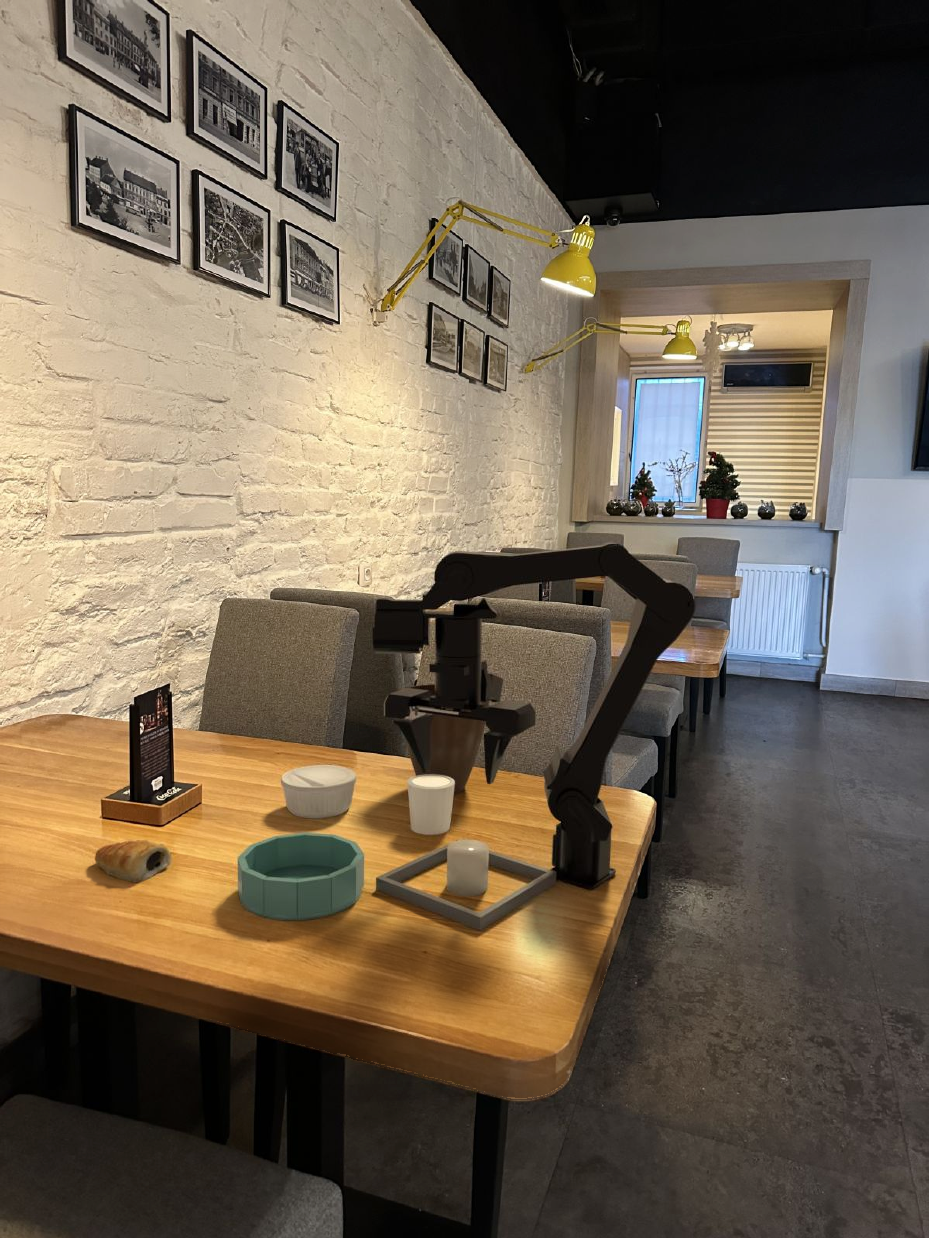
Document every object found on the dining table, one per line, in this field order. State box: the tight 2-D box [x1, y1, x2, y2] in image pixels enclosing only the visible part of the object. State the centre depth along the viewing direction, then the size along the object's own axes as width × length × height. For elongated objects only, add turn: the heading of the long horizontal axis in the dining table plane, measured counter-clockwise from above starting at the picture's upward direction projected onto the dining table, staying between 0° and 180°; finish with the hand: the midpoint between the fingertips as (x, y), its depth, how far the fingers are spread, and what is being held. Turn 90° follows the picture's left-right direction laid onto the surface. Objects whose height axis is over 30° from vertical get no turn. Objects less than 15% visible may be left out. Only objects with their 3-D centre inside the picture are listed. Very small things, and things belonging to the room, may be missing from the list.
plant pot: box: [401, 683, 490, 794], centre depth 138 cm, size 15×15×16 cm
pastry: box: [94, 839, 172, 883], centre depth 106 cm, size 9×7×4 cm
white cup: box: [406, 774, 455, 836], centre depth 121 cm, size 7×7×7 cm
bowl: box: [237, 832, 365, 922], centre depth 100 cm, size 14×14×4 cm
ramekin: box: [280, 764, 357, 819], centre depth 128 cm, size 11×11×5 cm
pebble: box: [446, 839, 490, 897], centre depth 102 cm, size 5×5×5 cm
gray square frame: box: [375, 839, 557, 931], centre depth 102 cm, size 16×16×2 cm
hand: (457, 777), depth 105 cm, fingers open, 9 cm apart
